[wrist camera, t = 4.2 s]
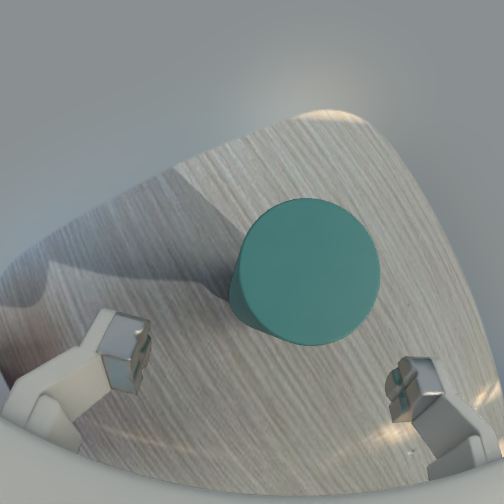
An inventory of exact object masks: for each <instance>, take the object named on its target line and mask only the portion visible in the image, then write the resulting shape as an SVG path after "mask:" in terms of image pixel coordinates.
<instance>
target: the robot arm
mask: <svg viewBox="0 0 504 504" xmlns="http://www.w3.org/2000/svg"><path fill="white" fill-rule="evenodd" d="M149 331H150V321H149V320H147V319H143V318H139V317H136V316H132V315H128V314H125V313H121V312H117V311H113V310H110V309H106V308H102V309H101V310H100V311H99V312H98V313H97V315H96V317H95V319H94V321H93V322H92V324H91V326H90V328H89V330H88V331H87V333H86V335H85V337H84V339H83V341H82V343H81V344H80V346H79V347H78V346H73V347H72V348H70V349H68V350H67V351H65V352H63V353H61V354H60V355H58V356H56V357H54V358H53V359H51V360H49V361H48V362H46V363H44V364H42V365H41V366H39V367H37V368H36V369H34V370H32V371H30V372H29V373H27V374H25V375H23V376H22V377H20V378H18V379H17V380H16V382H15V383H14V385H13V387H12V389H11V391H10V393H9V395H8V397H7V399H6V401H5V403H4V405H3V407H2V409H1V411H0V504H504V457H503V458H502V454H501V451H500V448H499V444H498V441H497V438H496V435H495V432H494V429H493V428H492V427H491V426H490V425H489V424H488V423H487V422H486V421H485V420H484V419H483V418H482V417H481V416H480V415H479V414H478V413H477V412H476V411H475V410H474V409H473V408H472V407H471V406H470V405H469V404H468V403H467V402H466V401H465V400H464V399H463V398H462V397H461V396H460V395H459V394H458V393H455V392H454V389H453V387H452V384H451V381H450V379H449V376H448V374H447V371H446V369H445V366H444V364H443V361H442V360H441V359H440V358H439V357H410V356H405V357H403V358H402V359H401V360H400V361H399V362H398V368H396V369H394V370H392V371H391V372H390V374H389V375H388V377H387V379H386V383H385V392H386V396H387V397H388V398H389V399H390V401H391V404H390V406H389V409H390V413H391V418H392V422H393V423H399V422H412V425H413V426H414V428H415V429H416V430H417V432H418V433H419V434H420V436H421V437H422V439H423V440H424V441H425V443H426V444H427V446H428V447H429V448H430V450H431V451H432V453H433V454H434V455H435V457H436V458H437V460H435V461H434V462H432V463H431V464H429V465H428V467H427V472H428V478H429V481H427V482H422V483H418V484H413V485H408V486H403V487H397V488H391V489H385V490H378V491H370V492H362V493H352V494H339V495H321V496H275V495H256V494H244V493H234V492H225V491H217V490H210V489H204V488H198V487H192V486H186V485H181V484H176V483H171V482H167V481H162V480H158V479H154V478H150V477H146V476H142V475H139V474H135V473H131V472H128V471H125V470H121V469H118V468H115V467H112V466H109V465H106V464H103V463H100V462H97V461H94V460H92V459H89V458H86V457H84V456H81V455H79V454H78V451H79V448H80V445H81V442H82V437H81V435H80V433H79V432H78V430H77V429H76V428H75V426H74V425H73V423H72V422H73V421H74V420H75V419H77V418H78V417H79V416H80V415H82V414H83V413H84V412H85V411H86V410H88V409H89V408H90V407H91V406H93V405H94V404H95V403H96V402H97V401H99V400H100V399H101V398H102V397H103V396H105V395H106V394H107V393H108V392H110V391H111V389H115V390H118V391H122V392H126V393H130V394H134V395H137V394H138V391H139V388H140V385H141V382H142V379H143V375H142V369H143V368H145V367H146V366H147V364H148V361H149V357H150V352H151V337H150V336H149V335H148V334H149Z"/></svg>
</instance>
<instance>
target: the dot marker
mask: <svg viewBox="0 0 504 504" xmlns="http://www.w3.org/2000/svg"><path fill="white" fill-rule="evenodd" d="M379 284H380V265H379V259H378V254H377V251H376V248H375V245H374V243H373V241H372V239H371V237H370V235H369V234H368V232H367V231H366V229H365V228H364V226H363V225H362V224H361V223H360V222H359V221H358V220H357V219H356V218H355V217H354V216H353V215H352V214H350V213H349V212H348V211H346V210H345V209H343V208H341V207H340V206H338V205H335V204H333V203H331V202H327V201H324V200H319V199H312V198H301V199H293V200H290V201H286V202H283V203H281V204H278V205H276V206H274V207H273V208H271V209H269V210H268V211H266V212H265V213H264V214H263V215H261V216H260V217H259V218H258V219H257V220H256V222H255V223H254V224H253V225H252V227H251V228H250V229H249V231H248V233H247V235H246V237H245V238H244V241H243V244H242V246H241V249H240V253H239V256H238V259H237V263H236V266H235V270H234V273H233V277H232V280H231V283H230V288H229V300H230V304H231V307H232V309H233V311H234V313H235V314H236V316H237V317H238V318H239V319H240V320H241V321H242V322H243V323H245V324H246V325H248V326H250V327H252V328H254V329H257V330H259V331H262V332H264V333H267V334H269V335H272V336H274V337H277V338H279V339H282V340H284V341H287V342H290V343H294V344H298V345H304V346H317V345H324V344H328V343H332V342H335V341H337V340H340V339H342V338H344V337H345V336H347V335H349V334H350V333H351V332H353V331H354V330H355V329H356V328H357V327H358V326H359V325H360V324H361V323H362V322H363V321H364V320H365V318H366V317H367V316H368V314H369V313H370V311H371V309H372V307H373V305H374V303H375V300H376V298H377V294H378V290H379Z"/></svg>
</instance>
